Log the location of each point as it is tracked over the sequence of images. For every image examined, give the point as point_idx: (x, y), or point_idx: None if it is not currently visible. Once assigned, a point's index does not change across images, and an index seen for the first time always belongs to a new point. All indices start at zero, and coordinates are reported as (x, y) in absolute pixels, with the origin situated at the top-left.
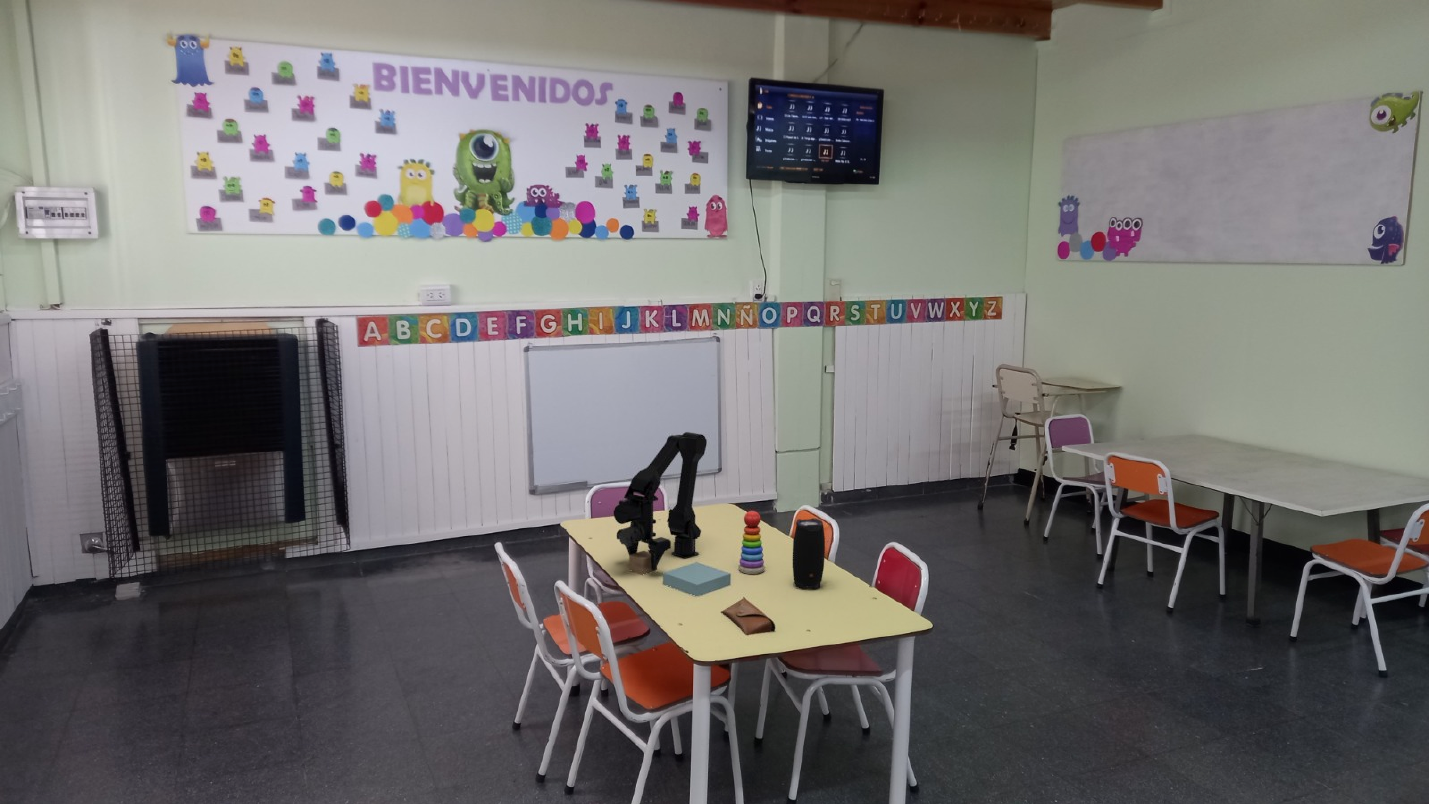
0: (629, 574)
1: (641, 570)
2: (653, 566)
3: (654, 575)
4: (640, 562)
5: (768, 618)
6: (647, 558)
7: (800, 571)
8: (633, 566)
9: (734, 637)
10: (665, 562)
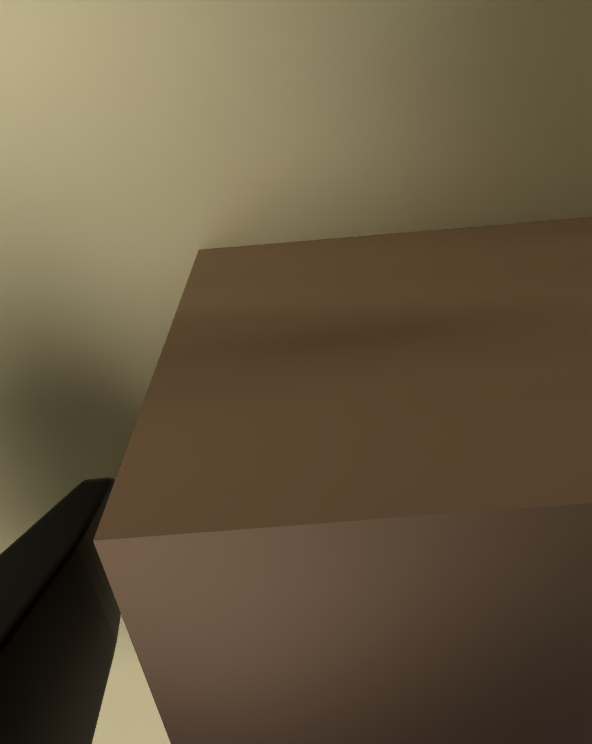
0: (442, 5)
1: (221, 288)
2: (16, 556)
3: (51, 418)
4: (254, 408)
5: None
6: (166, 711)
7: None
8: (565, 271)
9: None
10: None
